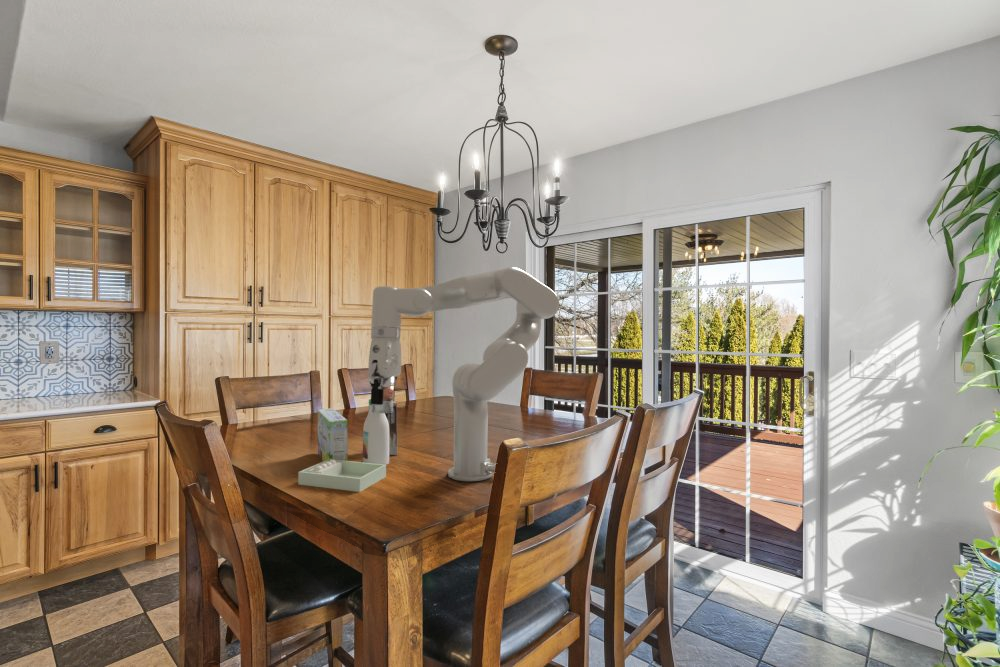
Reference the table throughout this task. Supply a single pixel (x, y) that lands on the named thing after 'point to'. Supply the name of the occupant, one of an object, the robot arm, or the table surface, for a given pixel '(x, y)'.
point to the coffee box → (392, 430)
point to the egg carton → (328, 468)
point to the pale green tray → (345, 476)
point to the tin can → (386, 397)
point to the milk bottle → (376, 438)
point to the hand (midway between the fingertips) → (382, 401)
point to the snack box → (332, 435)
